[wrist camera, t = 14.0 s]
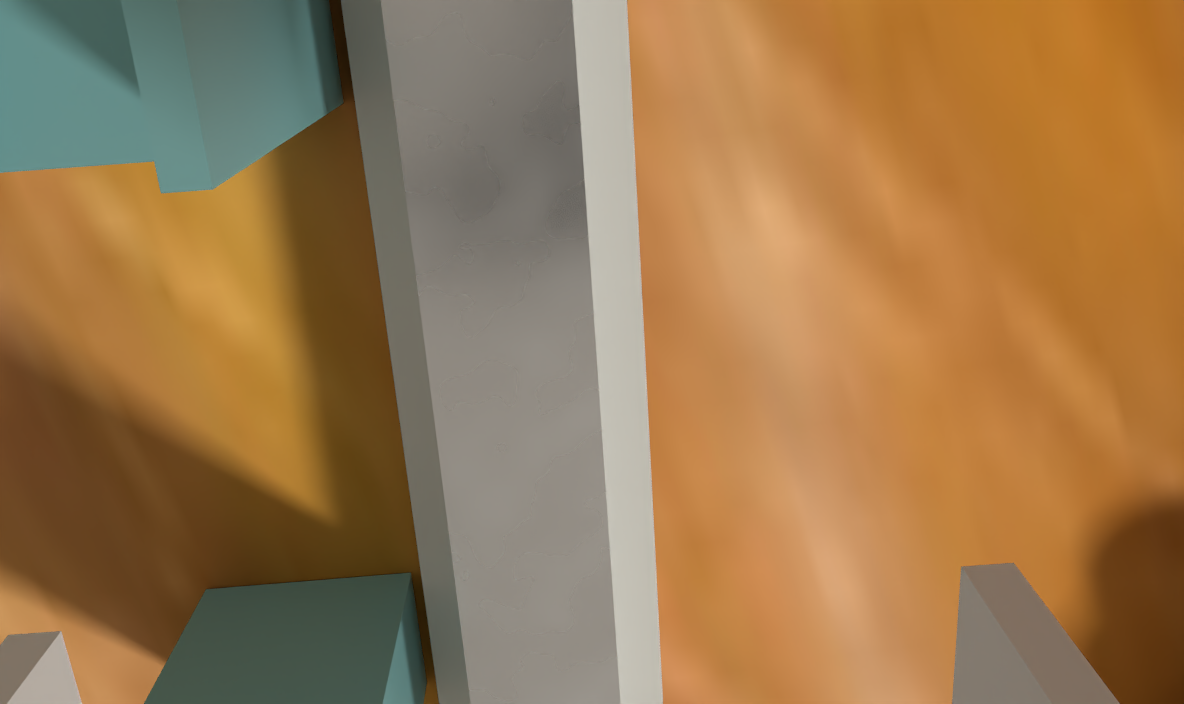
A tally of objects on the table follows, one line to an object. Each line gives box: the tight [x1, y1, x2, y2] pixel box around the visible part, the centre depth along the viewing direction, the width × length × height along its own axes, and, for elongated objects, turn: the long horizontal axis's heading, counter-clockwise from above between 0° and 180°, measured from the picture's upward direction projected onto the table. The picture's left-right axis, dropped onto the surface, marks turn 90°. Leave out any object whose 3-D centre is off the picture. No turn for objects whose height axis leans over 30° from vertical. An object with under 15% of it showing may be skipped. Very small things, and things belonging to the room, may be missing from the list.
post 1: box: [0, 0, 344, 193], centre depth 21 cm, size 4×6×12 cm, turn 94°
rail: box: [381, 0, 621, 704], centre depth 27 cm, size 28×4×4 cm, turn 4°
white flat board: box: [341, 0, 663, 704], centre depth 29 cm, size 30×7×1 cm, turn 4°
